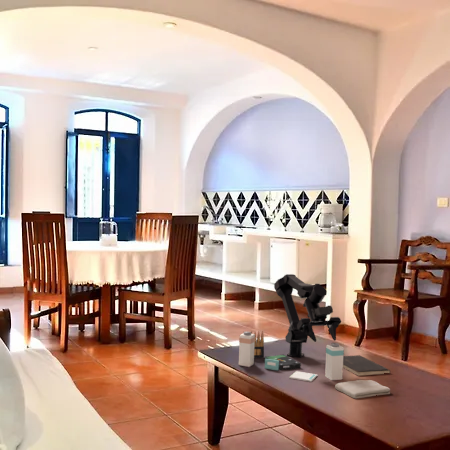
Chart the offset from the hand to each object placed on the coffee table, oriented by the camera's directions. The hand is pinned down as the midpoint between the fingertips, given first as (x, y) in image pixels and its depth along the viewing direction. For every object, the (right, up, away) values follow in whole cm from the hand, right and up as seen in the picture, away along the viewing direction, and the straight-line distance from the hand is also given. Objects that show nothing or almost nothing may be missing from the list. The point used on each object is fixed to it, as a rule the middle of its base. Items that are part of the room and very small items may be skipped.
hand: (325, 340), depth 235 cm
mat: (-10, -13, -7) cm, 18 cm away
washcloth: (+10, -15, -22) cm, 29 cm away
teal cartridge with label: (-22, -12, +2) cm, 26 cm away
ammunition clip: (-30, -12, +20) cm, 38 cm away
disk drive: (-17, -13, +10) cm, 24 cm away
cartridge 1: (-33, -12, +8) cm, 36 cm away
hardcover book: (+17, -14, +11) cm, 24 cm away
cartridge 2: (+2, -14, -7) cm, 15 cm away
